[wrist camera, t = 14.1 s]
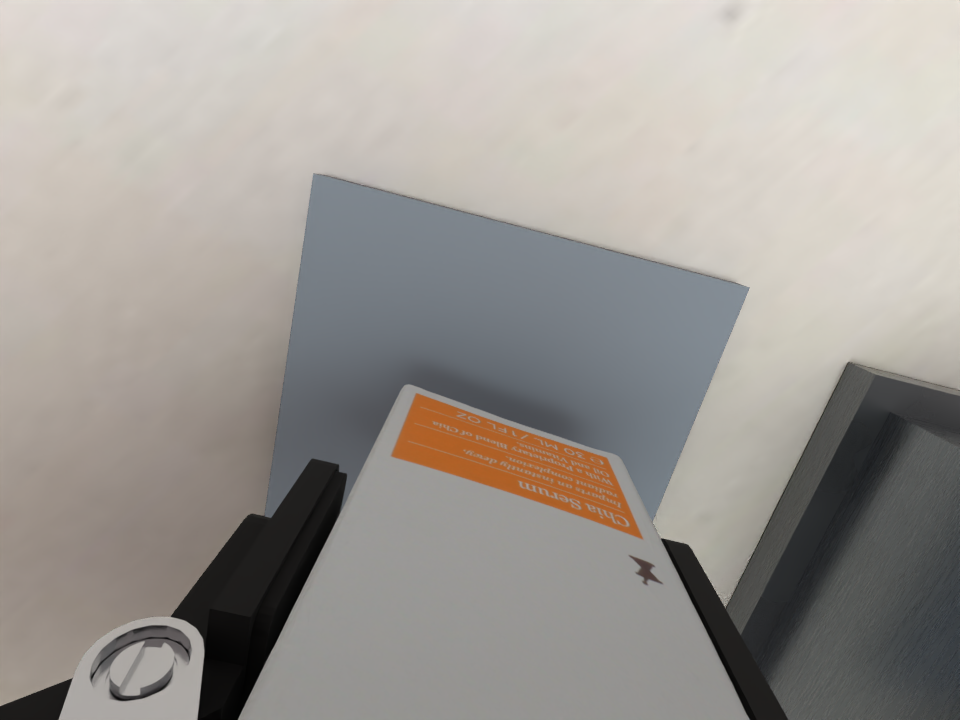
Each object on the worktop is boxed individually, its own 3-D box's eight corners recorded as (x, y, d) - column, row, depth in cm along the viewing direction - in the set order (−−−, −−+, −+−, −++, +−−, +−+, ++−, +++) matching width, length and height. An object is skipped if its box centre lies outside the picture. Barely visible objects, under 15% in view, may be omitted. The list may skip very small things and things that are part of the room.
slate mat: (268, 537, 19) (259, 551, 18) (322, 174, 15) (313, 173, 14) (604, 609, 20) (609, 626, 19) (736, 283, 16) (749, 287, 15)
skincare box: (624, 448, 13) (1509, 2105, 2) (560, 576, 14) (833, 2027, 3) (398, 372, 13) (-460, 2048, 1) (352, 511, 14) (-278, 1976, 2)
